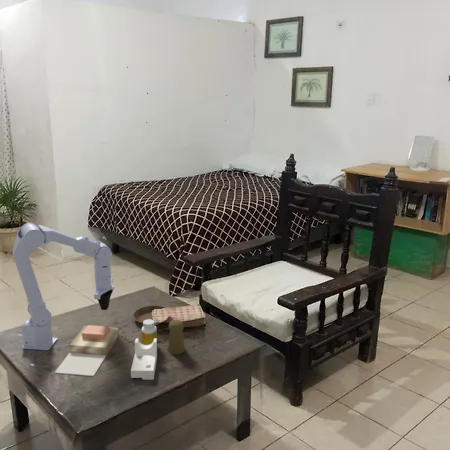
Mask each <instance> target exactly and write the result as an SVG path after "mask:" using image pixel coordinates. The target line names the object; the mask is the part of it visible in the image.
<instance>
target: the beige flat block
mask: <svg viewBox="0 0 450 450" xmlns="http://www.w3.org/2000/svg"><path fill="white" fill-rule="evenodd" d="M87 326H88V325H84V326H83V327H82V329H81V330H80V332H79V333H77V334H76V336H75V338H74V339H73V340H72V341H71V343H70V344H69V353H80V354H93V355H106V356H108V354H109V353H110V351H111V350H112V347H113V346H114V345H115V343H116V341H117V340H118V338H119V337H120V328H119V327H110V326H109V327H110V332H109V333H108V335H107V336H106V338H105V339H104V340H99V339H86V338H82V332H83V331H84V330H85V329H86V327H87Z"/></svg>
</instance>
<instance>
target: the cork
mask: <svg viewBox="0 0 450 450" xmlns="http://www.w3.org/2000/svg"><path fill="white" fill-rule="evenodd" d="M184 325H185V324H184V323H183V321H182V320H180V319H173V320H171V321H170V322H169V324H168V329H169V331H170V332H169V339H168V347H167V353H170V354H171V355H180V354H183V353H184V352H185V350H186V347H185V340H184V332H183V330H184V327H185V326H184Z"/></svg>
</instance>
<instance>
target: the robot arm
mask: <svg viewBox="0 0 450 450" xmlns="http://www.w3.org/2000/svg"><path fill="white" fill-rule="evenodd" d="M89 238H90V237H89V236H87V235H83V236H78V237H77V236H76V237H74V236H71V235H69V234H66V233H63V232H61V231H58V230H56V229H52V228H50V227H48V226H44V225H41V224H38V225H37V224H36V223H35V222H26V223H24V224H23V225H22V226H20V228H19V229H18V230H17V232H16V237H15V240H14V245H13V247H12V248H13V249H12V251H11V252H12V254H11V255H12V257H13V261H14V263H15V266H16V269H17V271H18V275H19V277H20V280H21V284H22V287H23V290H24V292H25V296H26V300H27V302H28V303H27V305H28V306H27V312H28V314H29V315H30V319H28V320H25V321H24V323H23V324H22V328H21V334H22V343H23V346H22V349H25V350H37V351H49V350H50V349H51V348H52V347H53V345H55V343H56V342H57V341H58V337H53V327H52V313H51V311H50V309H49V308H48V307H47V305H46V301H44V299H43V296H42V292H41V290H40V287H39V284H38V281H37V278H36V274H35V272H34V269H33V265H32V262H31V259H30V256H31V254H32V253H33V252H34V251H35V250H38V249H39V248H40V247H41V246H42V245H43V244H44V245H47V244H49V243H51V242H55V243H58V244H61V245H65V246H68V247H72V249H73V250H74V252H76V253H78V254H82V255H84V256H86V257H90V258H93V262H94V263H93V264H94V280H95V281H94V282H95V287H94V294H93V299H94V300H97V301H98V303H99V308H100V310H102V311H108V309H109V306H110V302H111V301H110V300H111V297H112V294H113V291H114V289H115V285H113V284H114V283H113V278H112V274H111V273H112V272H111V270H112V269H111V259H112V256H113V252H112V249H111V248H110V247H109V246H107V244H105V242H102V241H101V240H97V241H95V240H92V239H89Z"/></svg>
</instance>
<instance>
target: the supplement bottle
mask: <svg viewBox="0 0 450 450" xmlns="http://www.w3.org/2000/svg"><path fill="white" fill-rule="evenodd" d="M154 325H155V322H154V320H152V319H147V320H144V321H143V325H142V327H141V329H140V330H141V332H140V333H141V344H143V345H150V344H152V343H153V341H154V338H157V339H158V335H157V334H158V333H157V332H158V331H157V330H158V329H157V328H158V327H157V326H154Z"/></svg>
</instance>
